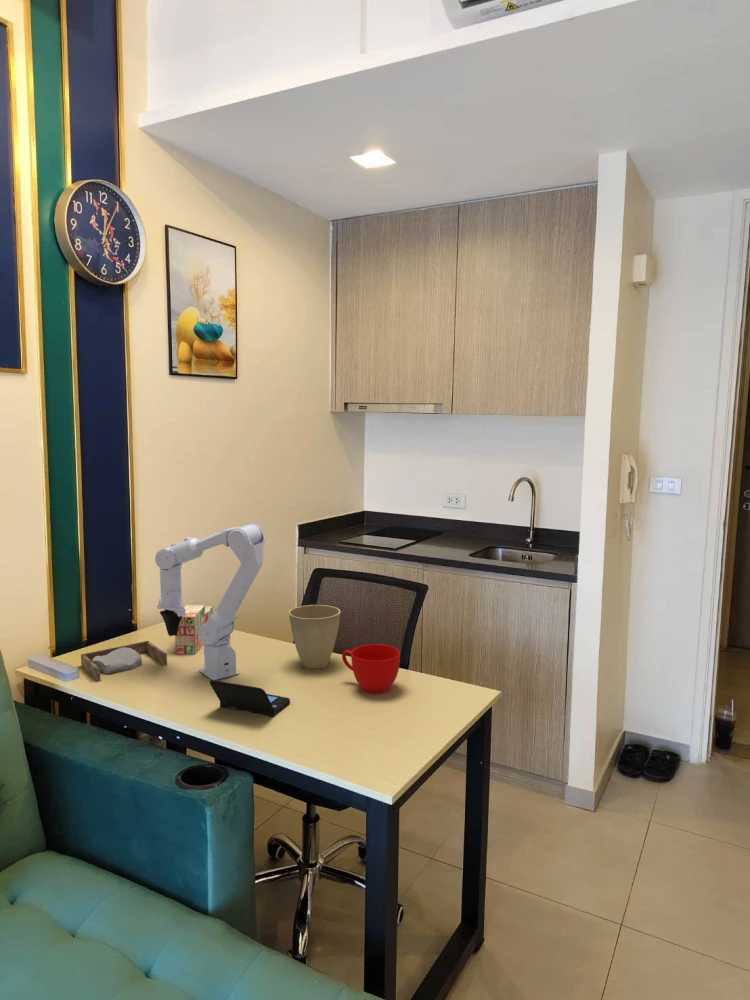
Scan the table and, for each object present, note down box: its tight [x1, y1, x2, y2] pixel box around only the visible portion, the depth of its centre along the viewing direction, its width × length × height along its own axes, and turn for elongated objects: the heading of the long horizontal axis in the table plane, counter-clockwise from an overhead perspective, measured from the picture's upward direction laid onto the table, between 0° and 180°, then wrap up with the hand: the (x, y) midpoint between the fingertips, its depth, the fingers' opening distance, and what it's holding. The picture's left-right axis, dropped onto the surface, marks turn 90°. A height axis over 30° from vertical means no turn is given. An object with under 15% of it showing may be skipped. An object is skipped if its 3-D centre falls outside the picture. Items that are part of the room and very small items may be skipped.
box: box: [80, 640, 168, 682], centre depth 198 cm, size 15×20×4 cm
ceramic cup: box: [341, 643, 401, 694], centre depth 183 cm, size 13×17×10 cm
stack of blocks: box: [174, 604, 214, 656], centre depth 218 cm, size 21×6×12 cm, turn 179°
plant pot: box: [288, 604, 341, 670], centre depth 199 cm, size 15×15×16 cm
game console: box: [208, 679, 291, 718], centre depth 169 cm, size 16×14×9 cm
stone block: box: [92, 647, 143, 675], centre depth 198 cm, size 12×5×10 cm
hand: (172, 634), depth 197 cm, fingers closed
